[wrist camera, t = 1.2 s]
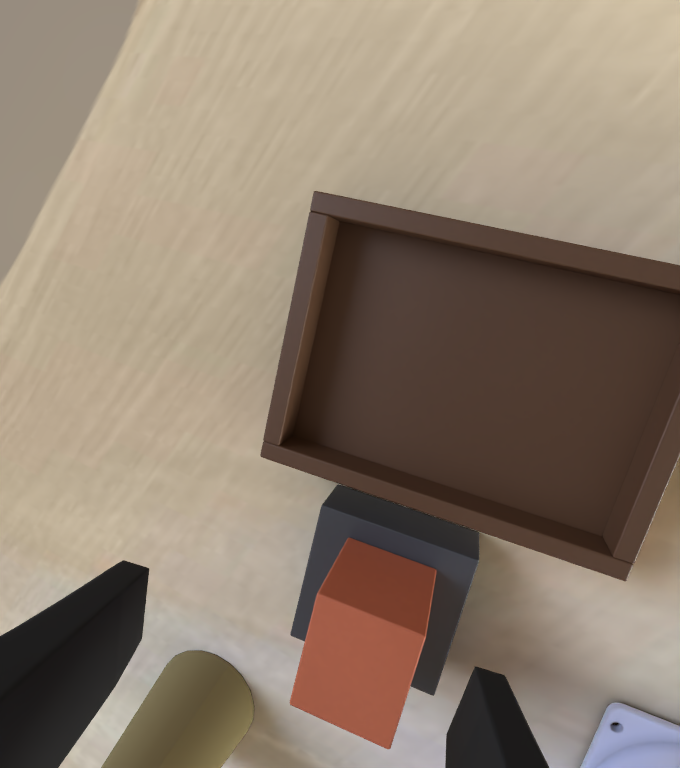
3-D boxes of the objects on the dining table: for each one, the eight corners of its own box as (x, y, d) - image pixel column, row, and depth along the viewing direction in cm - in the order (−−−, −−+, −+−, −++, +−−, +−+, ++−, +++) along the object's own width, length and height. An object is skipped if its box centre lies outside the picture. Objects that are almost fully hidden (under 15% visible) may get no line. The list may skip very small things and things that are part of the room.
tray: (610, 549, 21) (627, 583, 19) (281, 441, 25) (259, 457, 22) (718, 282, 19) (754, 280, 16) (332, 202, 22) (313, 190, 19)
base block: (438, 656, 24) (433, 696, 22) (308, 603, 26) (289, 635, 23) (479, 532, 23) (479, 560, 20) (337, 483, 24) (321, 504, 22)
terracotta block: (406, 664, 22) (389, 751, 18) (323, 630, 23) (288, 704, 19) (437, 568, 21) (426, 637, 17) (348, 536, 22) (316, 593, 18)
